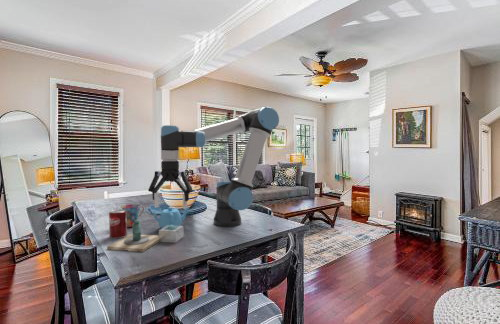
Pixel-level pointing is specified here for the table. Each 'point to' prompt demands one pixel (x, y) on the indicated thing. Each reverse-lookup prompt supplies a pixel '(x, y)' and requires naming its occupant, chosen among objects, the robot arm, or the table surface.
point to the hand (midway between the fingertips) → (170, 207)
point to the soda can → (118, 223)
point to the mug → (132, 213)
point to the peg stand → (135, 240)
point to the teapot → (170, 217)
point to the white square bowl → (171, 234)
